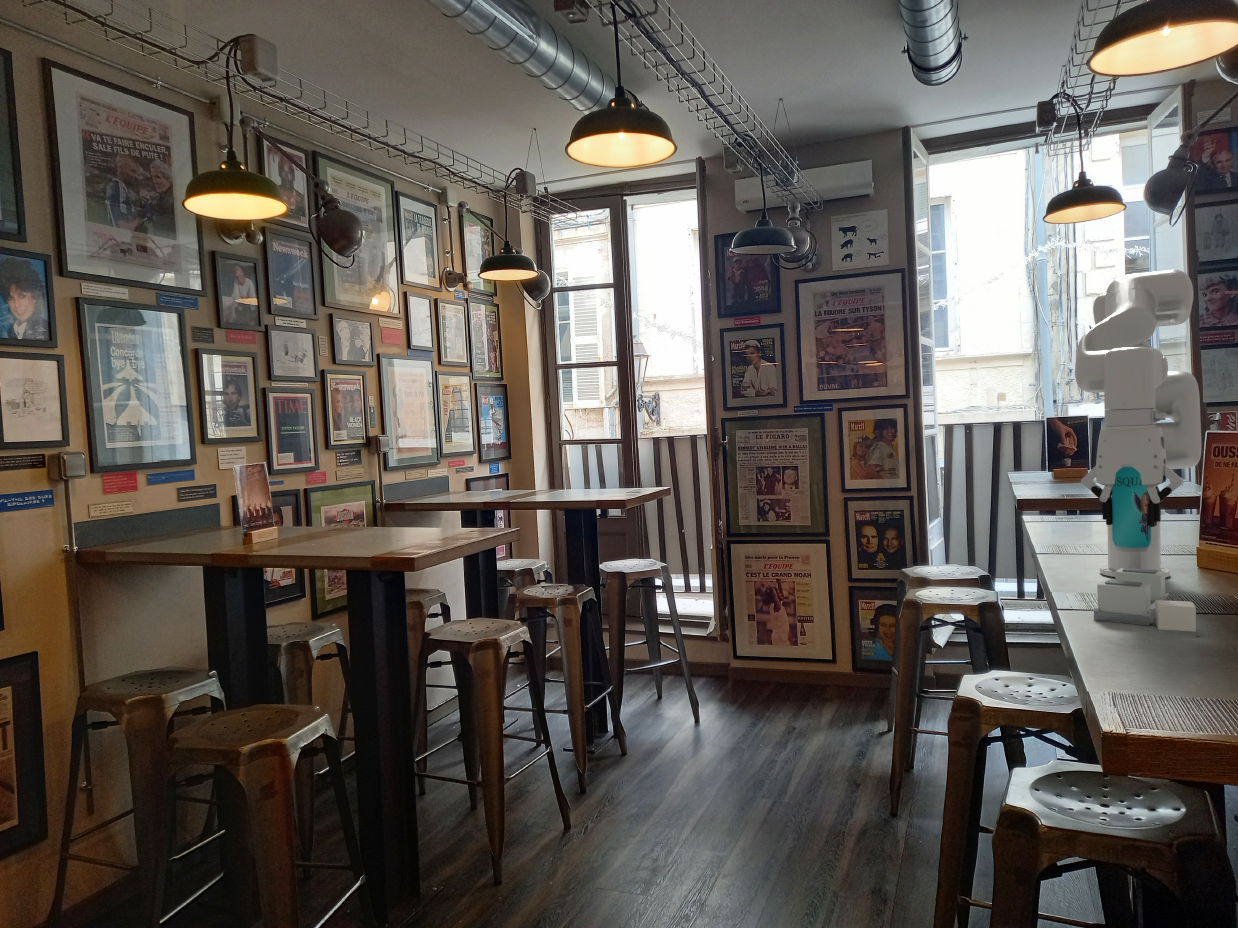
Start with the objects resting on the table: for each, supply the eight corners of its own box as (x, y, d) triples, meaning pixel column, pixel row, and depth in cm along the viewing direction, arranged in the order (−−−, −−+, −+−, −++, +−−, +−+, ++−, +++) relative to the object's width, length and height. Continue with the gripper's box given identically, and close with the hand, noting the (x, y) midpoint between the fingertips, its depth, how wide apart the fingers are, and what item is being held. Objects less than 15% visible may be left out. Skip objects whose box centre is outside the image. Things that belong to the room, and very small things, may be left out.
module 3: (1155, 624, 141) (1155, 599, 141) (1191, 626, 139) (1191, 601, 139) (1158, 630, 138) (1158, 605, 137) (1196, 632, 135) (1195, 607, 135)
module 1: (1103, 606, 148) (1103, 578, 148) (1150, 610, 143) (1150, 582, 143) (1097, 610, 145) (1097, 582, 145) (1145, 615, 140) (1145, 586, 140)
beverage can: (1138, 553, 145) (1136, 464, 144) (1105, 549, 150) (1103, 463, 149) (1158, 550, 147) (1157, 462, 147) (1125, 546, 152) (1124, 461, 152)
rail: (1118, 599, 159) (1118, 589, 158) (1169, 604, 153) (1169, 593, 153) (1093, 619, 145) (1093, 608, 145) (1148, 625, 140) (1148, 613, 140)
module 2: (1120, 592, 158) (1120, 566, 158) (1165, 596, 153) (1165, 569, 153) (1115, 596, 155) (1115, 570, 155) (1161, 600, 150) (1160, 573, 150)
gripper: (1193, 417, 145) (1194, 524, 145) (1080, 421, 156) (1081, 520, 157) (1185, 418, 139) (1186, 530, 140) (1068, 422, 150) (1070, 525, 151)
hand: (1131, 524), depth 148 cm, fingers closed on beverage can, 5 cm apart
